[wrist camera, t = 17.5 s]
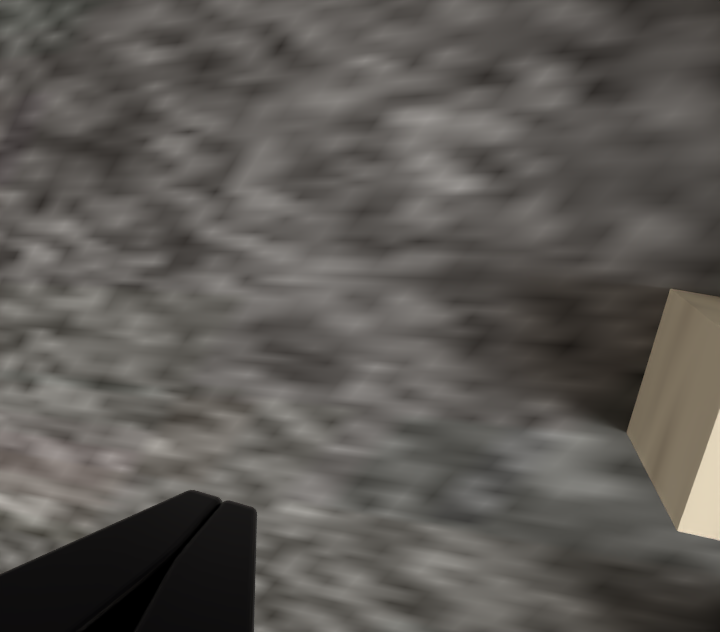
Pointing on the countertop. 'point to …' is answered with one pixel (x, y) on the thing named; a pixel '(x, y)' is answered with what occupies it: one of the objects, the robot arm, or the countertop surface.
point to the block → (683, 413)
